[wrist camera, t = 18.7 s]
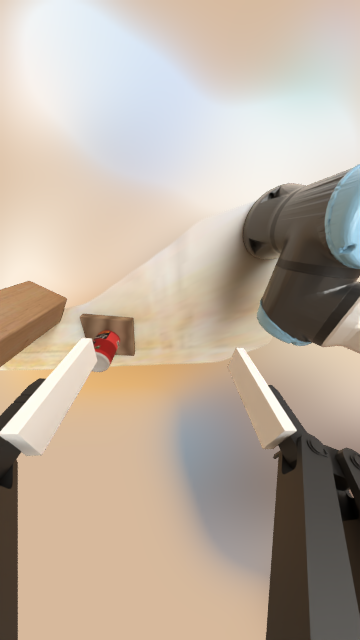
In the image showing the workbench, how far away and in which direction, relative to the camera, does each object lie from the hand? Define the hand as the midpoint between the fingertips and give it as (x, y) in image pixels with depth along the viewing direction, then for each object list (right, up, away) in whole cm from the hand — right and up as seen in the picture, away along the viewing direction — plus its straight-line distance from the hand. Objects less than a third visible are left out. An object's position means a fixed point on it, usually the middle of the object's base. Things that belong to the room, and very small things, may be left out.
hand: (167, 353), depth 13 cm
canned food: (-24, -3, +36) cm, 43 cm away
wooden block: (-40, +9, +30) cm, 51 cm away
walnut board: (-24, -2, +37) cm, 44 cm away
